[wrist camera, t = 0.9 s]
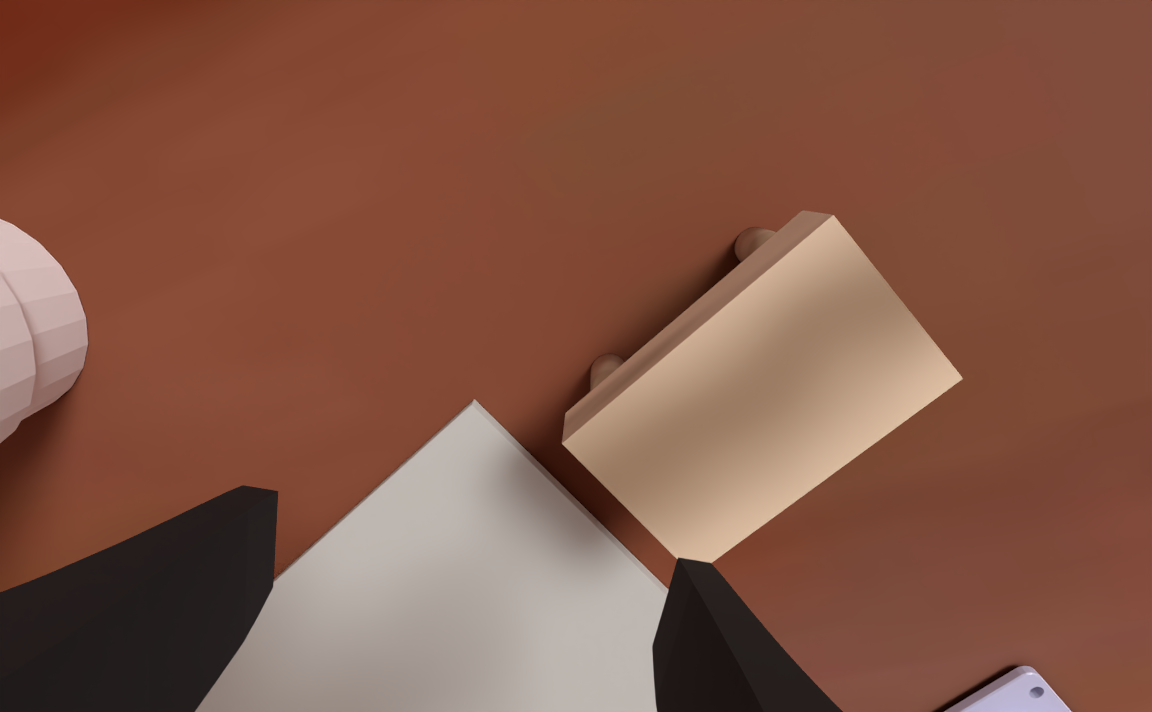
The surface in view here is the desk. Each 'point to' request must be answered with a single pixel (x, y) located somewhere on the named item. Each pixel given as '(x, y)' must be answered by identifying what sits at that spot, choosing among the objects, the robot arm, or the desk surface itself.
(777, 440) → the tan plank with pegs
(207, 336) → the desk surface
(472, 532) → the mat
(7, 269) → the cup
